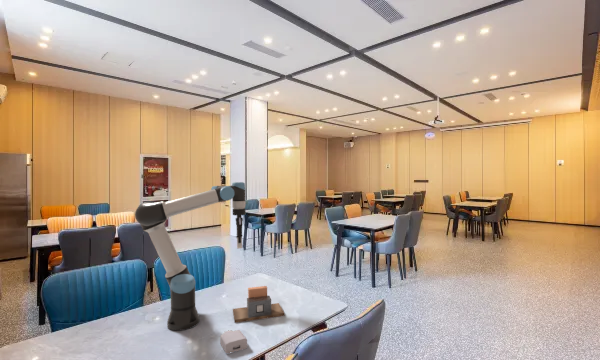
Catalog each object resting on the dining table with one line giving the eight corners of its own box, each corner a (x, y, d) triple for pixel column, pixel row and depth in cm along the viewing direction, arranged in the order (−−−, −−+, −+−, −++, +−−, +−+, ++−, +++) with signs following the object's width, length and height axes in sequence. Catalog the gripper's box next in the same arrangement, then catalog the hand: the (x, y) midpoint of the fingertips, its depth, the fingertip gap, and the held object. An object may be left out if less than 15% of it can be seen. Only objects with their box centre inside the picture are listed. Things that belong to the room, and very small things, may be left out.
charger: (236, 333, 145) (247, 348, 132) (216, 339, 141) (226, 355, 128) (236, 323, 145) (247, 337, 132) (216, 328, 141) (225, 343, 128)
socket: (248, 317, 158) (248, 302, 158) (247, 313, 164) (246, 298, 164) (271, 314, 161) (271, 299, 161) (269, 310, 167) (269, 295, 167)
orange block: (250, 316, 158) (250, 293, 158) (248, 309, 167) (248, 287, 167) (269, 314, 161) (269, 291, 161) (266, 307, 170) (266, 285, 170)
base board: (234, 322, 156) (234, 319, 156) (232, 311, 169) (232, 308, 169) (284, 315, 163) (284, 313, 163) (278, 305, 177) (278, 303, 177)
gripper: (246, 208, 176) (247, 250, 176) (244, 207, 189) (244, 245, 189) (233, 209, 174) (233, 251, 174) (231, 207, 187) (232, 246, 187)
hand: (239, 248), depth 181 cm, fingers closed
